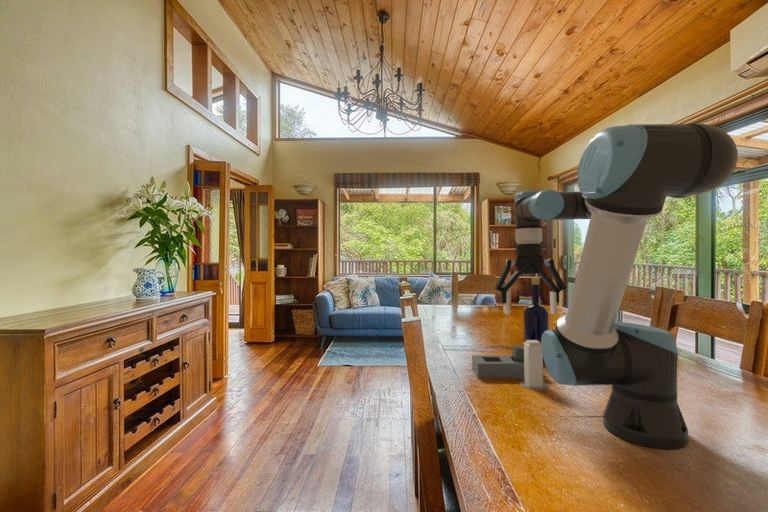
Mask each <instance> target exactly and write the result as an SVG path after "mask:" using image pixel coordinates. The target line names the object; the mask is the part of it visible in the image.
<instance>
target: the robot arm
mask: <svg viewBox="0 0 768 512" xmlns="http://www.w3.org/2000/svg"><path fill="white" fill-rule="evenodd" d="M738 156H739V151H738V147H737V144H736V143H735V140H734V138H733V137H732V136H730V135H729V133H727V131H724V130H723V129H721V128H720V127H717V126H714V125H711V124H706V123H700V122H699V123H697V122H696V123H670V124H668V123H661V124H660V123H657V124H656V123H655V124H654V123H653V124H651V123H649V124H647V123H646V124H644V123H643V124H639V123H636V124H635V123H630V124H625V125H615V126H608V127H606V128H604V129H602V130H600V131H599V132H598V133H596V134H595V136H594V137H592V138H591V139H590V140H589V142H588V143H587V145H586V146H585V148H584V150H583V152H582V155H581V157H580V160H579V162H578V165H577V166H578V167H577V174H576V177H577V178H578V179H577V182H576V183H577V187H578V189H579V191H556V190H554V189H545V190H541V191H539V190H523V191H520V192H516V194H515V196H514V223H515V224H514V225H515V226H514V227H515V228H514V229H515V242H516V243H517V244H516V245H515V259H514V260H511V259H506V260H505V261H504V266H503V269H502V271H501V273H500V275H499V278H498V280H497V282H496V284H495V286H494V290H495V291H499V292H500V302H501V303H502V304H504V314H505V315H506V316H510V315H511V307H510V306H511V305H510V304H511V302H510V300H511V299H510V292H508V291H509V290H510V288H511V287H512V286H513V285H514V283H515V282H516V281H517V280H518V279H519V278H520V277H521V276H522V275H537V276H539V278H541V279H542V280H543V282H544V283H546V285H547V286H548V287H549V288H550V289H551V291H549V307H550V308H549V314H551V315H557V303H560V293H561V291H565V290H566V289H567V287H566V285H565V283H564V281H563V279H562V277H561V275H560V274H559V272H558V270H557V268H556V266H555V259H554V258H548V259H544V257H543V254H544V253H543V244H542V242H543V221H558V220H561V221H562V220H564V221H565V220H589V223H588V225H587V226H588V228H587V231H586V235H585V239H584V243H583V248H582V252H581V255H580V259H579V263H578V267H577V272H576V276H575V280H574V284H573V288H572V291H571V296H570V299H569V304H568V308H567V312H566V313H564V314H562V315H561V316H559V317H558V319H557V321H556V325H555V329H549V328H548V330H547V331H545V332H544V333H543V334H542V338H541V347H542V354H543V359H544V362H545V364H544V365H545V367H546V370H547V372H548V375H549V376H550V377H551V378H552V380H553V381H554V382H555V383H556V384H559V385H564V386H573V387H578V386H611V393H610V395H609V397H608V400H607V403H606V406H605V408H604V410H603V413H602V414H603V419H602V420H603V422H602V423H603V426H604V428H605V429H606V430H607V431H609V432H610V433H612V434H613V435H615V436H616V437H618V438H621V439H623V440H626V441H628V442H631V443H633V444H637V445H640V446H645V447H648V448H655V449H663V450H664V449H667V450H675V449H680V448H684V447H686V446H687V445H688V444H689V430H688V426H687V424H686V422H685V418H684V416H683V413H682V411H681V408H680V406H679V402H678V355H679V352H678V347H677V338H676V336H675V335H674V333H672V332H670V331H668V330H665V329H662V328H661V327H660V328H659V327H655V326H651V325H650V326H649V325H644V324H639V323H634V322H628V321H627V322H626V321H616V319H617V316H618V314H619V310H620V307H621V304H622V301H623V297H624V295H625V291H626V288H627V285H628V282H629V279H630V275H631V273H632V269H633V266H634V263H635V260H636V257H637V254H638V251H639V248H640V245H641V241H642V238H643V236H644V232H645V229H646V226H647V222H648V221H649V220H650V219H652V218H654V217H656V216H659V215H660V214H661V213H662V211H663V208H664V205H665V203H666V199H667V198H668V197H669V198H672V199H685V198H688V197H693V196H697V195H701V194H705V193H708V192H711V191H713V190H715V189H717V188H719V187H720V186H722V185H723V184H724V183H725V182H727V180H729V179H730V177H732V174H733V173H734V171H735V169H736V167H737V163H738V159H739V157H738ZM544 265H545V267H547V269H548V271H549V273H550V275H551V277H552V279H553V280H554V281H553V280H552V279H551V278H550V277H549V276H548V274H546V272H545V270H544V269H543V266H544ZM514 266H515V267H516V269H515V271H514V272H513V273H512V275H511V276H510V278H509V279H508V280H507V281H506V279H507V277H508V275H509V273H510V271H511V268H513V267H514Z"/></svg>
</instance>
